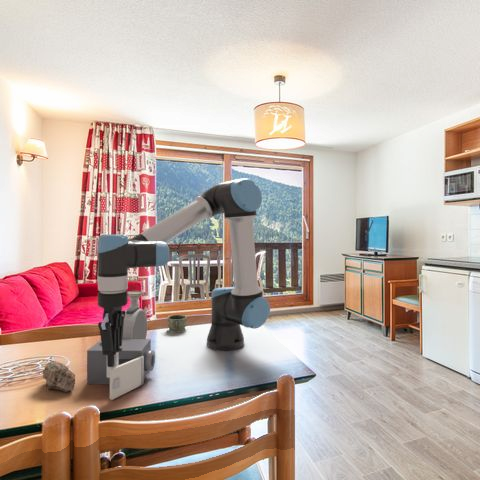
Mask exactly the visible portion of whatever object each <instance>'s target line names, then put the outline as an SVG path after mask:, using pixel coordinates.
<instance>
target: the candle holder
mask: <svg viewBox="0 0 480 480" xmlns="http://www.w3.org/2000/svg"><path fill="white" fill-rule="evenodd" d="M127 292H128V297H129V298H128V299H129V300H130V303H129V307H132V306H134V307H139V306H140V303H139V300H140V297H141V296H144V295H145V292H144V291H142V290H129V291H127Z"/></svg>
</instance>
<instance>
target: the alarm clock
mask: <svg viewBox="0 0 480 480" xmlns="http://www.w3.org/2000/svg"><path fill="white" fill-rule="evenodd" d="M124 311H125V317H124V326H123V337H122V339H147V335H148V333H147V332H148V318H147V314H146V311H145V310H144V309H143V308H140V306H138V307H134V306H132V307H131V306H128V307H127V309H126V310H124Z"/></svg>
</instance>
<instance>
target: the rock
mask: <svg viewBox="0 0 480 480" xmlns="http://www.w3.org/2000/svg"><path fill="white" fill-rule="evenodd" d="M42 379H44V380H45V381H46V382H45V383H46V385H45V387H46V388H47V389H48V390H53V389H54V390H58V391H61V392H64V393H66V392H69V391H74V388H75V385H76V373H74V372H72V371H71V370H70V369H69V367H67V366H66V365H65V364H63V363H61V362H59V361H56V360H52V361H49V362H47V364H46V365H45V366H44V369H43V370H42Z"/></svg>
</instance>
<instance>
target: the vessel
mask: <svg viewBox="0 0 480 480" xmlns="http://www.w3.org/2000/svg"><path fill="white" fill-rule="evenodd" d="M187 324H188V323H187V315H184V314H171V315H168V316H167V324H166V325H167V327H168V328H169V329H168V332H170V333H175V334H177V333H182V332H183V333H184V332H185V331H186V327H187Z"/></svg>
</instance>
